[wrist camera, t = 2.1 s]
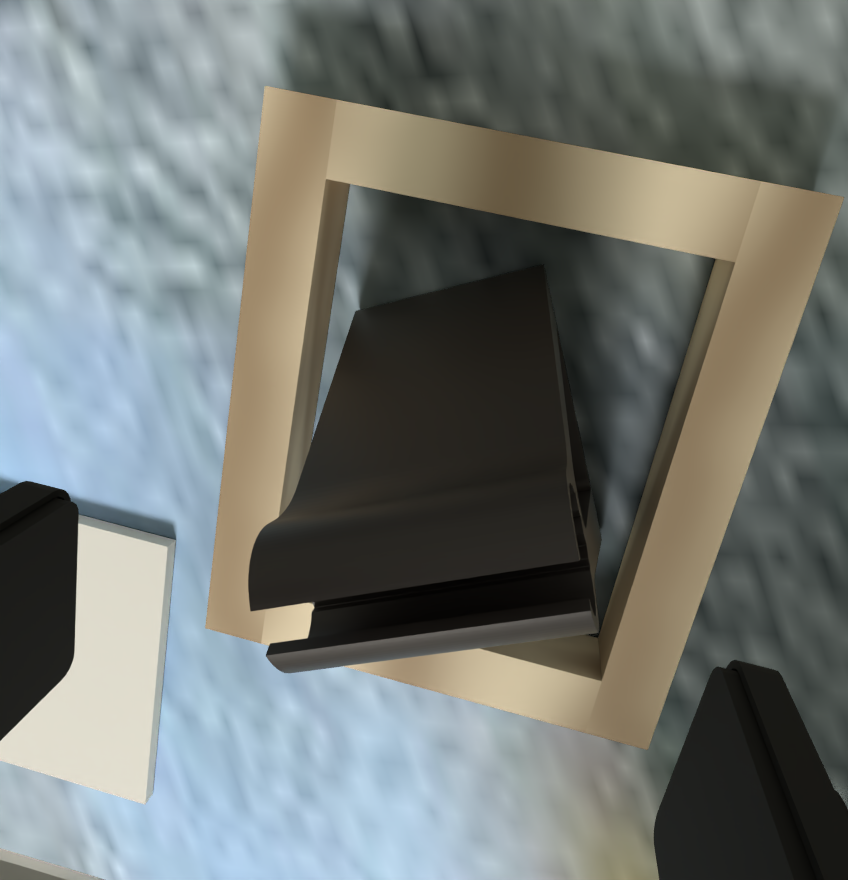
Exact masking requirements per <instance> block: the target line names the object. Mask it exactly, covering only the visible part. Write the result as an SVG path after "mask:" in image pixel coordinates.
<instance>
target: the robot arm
mask: <svg viewBox="0 0 848 880" xmlns="http://www.w3.org/2000/svg"><path fill="white" fill-rule="evenodd" d="M78 520H79V513H78V507H77V505H76V504H75V503H73V502H71V501H70V497H69V494H68V493H67V492H66V491H65V490H62V489H58V488H54V487H50V486H46V485H42V484H38V483H34V482H30V481H25V482H22V483H19V484H18V485H16V486H14V487H12V488H10V489H8V490H7V491H5V492H3V493H1V494H0V741H1V740H2V739H3V738H4V737H5V736H6V735H7V734H8V733H9V732H10V731H11V730H12V729H13V728H14V727H15V726H16V725H17V724H18V723H19V722H20V721H21V720H22V719H23V718H24V717H25V716H26V715H27V714H28V713H29V712H30V711H31V710H32V709H33V708H34V707H35V706H36V705H37V704H38V703H39V702H40V701H41V700H42V699H43V698H44V697H45V696H46V695H47V694H48V693H49V692H50V691H51V690H52V689H53V688H54V687H55V686H56V685H57V684H58V683H59V682H60V681H61V680H62V679H63V678H64V677H65V676H66V674H67V672H68V671H69V669H70V667H71V665H72V662H73V658H74V652H75V620H76V587H77V553H78ZM654 846H655V853H656V860H657V866H658V873H659V880H848V809H847V807H846V805H845V803H844V801H843V799H842V798H841V796H840V795H839V793H838V792H837V791H835V790H834V788H833V786H832V784H831V781H830V779H829V777H828V775H827V773H826V771H825V768H824V766H823V764H822V762H821V760H820V758H819V756H818V753H817V751H816V749H815V747H814V745H813V743H812V740H811V738H810V736H809V734H808V732H807V730H806V727H805V725H804V723H803V721H802V719H801V717H800V715H799V712H798V710H797V708H796V706H795V704H794V702H793V699H792V697H791V695H790V693H789V691H788V689H787V687H786V684H785V682H784V680H783V678H782V676H781V675H780V673H779V672H778V671H776V670H773V669H769V668H765V667H761V666H757V665H753V664H749V663H745V662H741V661H737V660H734V661H731V662H730V664H729V665H728V666H727V668H726V669H725V668H721V667H716V668H715V669H714V670H713V671H712V673H711V675H710V678H709V680H708V683H707V685H706V688H705V691H704V693H703V696H702V698H701V701H700V704H699V706H698V709H697V711H696V714H695V717H694V719H693V722H692V724H691V727H690V730H689V732H688V735H687V737H686V740H685V743H684V745H683V748H682V750H681V753H680V756H679V758H678V761H677V763H676V766H675V769H674V771H673V774H672V776H671V779H670V782H669V784H668V787H667V789H666V792H665V795H664V797H663V800H662V802H661V805H660V808H659V810H658V813H657V816H656V820H655V826H654ZM0 880H104V879H101V878H98V877H94V876H91V875H88V874H85V873H81V872H78V871H75V870H71V869H68V868H65V867H61V866H58V865H55V864H51V863H48V862H44V861H41V860H38V859H34V858H31V857H28V856H24V855H21V854H18V853H14V852H11V851H7V850H4V849H1V848H0Z"/></svg>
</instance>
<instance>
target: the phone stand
mask: <svg viewBox="0 0 848 880" xmlns="http://www.w3.org/2000/svg"><path fill="white" fill-rule="evenodd" d="M601 541H602V539H601V533H600V527H599V523H598V518H597V513H596V508H595V504H594V499H593V494H592V489H591V485H590V480H589V475H588V470H587V466H586V461H585V456H584V451H583V447H582V442H581V437H580V433H579V428H578V423H577V418H576V414H575V410H574V405H573V399H572V395H571V390H570V385H569V380H568V376H567V371H566V366H565V361H564V357H563V352H562V347H561V342H560V338H559V333H558V328H557V323H556V319H555V314H554V309H553V304H552V300H551V295H550V290H549V286H548V281H547V276H546V271H545V267H544V264H543V265H539V266H535V267H530V268H526V269H522V270H518V271H514V272H510V273H506V274H502V275H498V276H494V277H490V278H486V279H482V280H478V281H474V282H470V283H466V284H462V285H458V286H454V287H450V288H446V289H442V290H438V291H434V292H430V293H426V294H422V295H418V296H414V297H410V298H406V299H402V300H398V301H394V302H390V303H386V304H382V305H378V306H374V307H370V308H366V309H362V310H358V311H356V312H355V314H354V317H353V320H352V323H351V326H350V329H349V332H348V335H347V338H346V341H345V344H344V347H343V350H342V353H341V356H340V359H339V362H338V365H337V368H336V371H335V374H334V377H333V380H332V383H331V386H330V389H329V392H328V395H327V398H326V401H325V404H324V407H323V410H322V413H321V416H320V419H319V422H318V425H317V428H316V431H315V434H314V437H313V440H312V443H311V446H310V449H309V452H308V455H307V458H306V461H305V464H304V467H303V470H302V473H301V476H300V479H299V482H298V485H297V488H296V491H295V493H294V496H293V498H292V500H291V502H290V504H289V505H288V507H287V508H286V510H285V511H284V512H283V513H282V514H281V515H280V516H279V517H278V518H277V519H275V520H274V521H272V522H270V523H268V524H267V525H265V526H264V527H263V528H262V530H261V531H260V533H259V534H258V536H257V538H256V540H255V543H254V546H253V549H252V553H251V558H250V564H249V574H248V593H249V604H250V611H258V610H264V609H271V608H277V607H283V606H290V605H296V604H303V603H309V602H312V603H313V606H314V609H313V611H312V614H311V625H310V630H309V635H308V638H305V639H298V640H291V641H284V642H277V643H270V645H269V648H268V651H267V654H266V657H267V658H268V660H269V661H270V662H271V663H272V664H273V665H274V666H275V667H276V668H277V669H278V670H280V671H282V672H284V673H295V672H303V671H311V670H318V669H326V668H334V667H341V666H349V665H356V664H364V663H372V662H379V661H387V660H395V659H402V658H410V657H418V656H425V655H433V654H440V653H448V652H456V651H463V650H471V649H479V648H486V647H494V646H501V645H509V644H517V643H524V642H532V641H540V640H547V639H555V638H562V637H570V636H578V635H585V634H593V633H599V619H598V611H597V602H596V593H595V571H596V566H597V561H598V556H599V551H600V546H601Z"/></svg>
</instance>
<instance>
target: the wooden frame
mask: <svg viewBox="0 0 848 880" xmlns="http://www.w3.org/2000/svg"><path fill="white" fill-rule="evenodd" d="M350 184H353V185H358V186H363V187H368V188H373V189H378V190H383V191H388V192H393V193H398V194H402V195H407V196H412V197H417V198H422V199H427V200H432V201H437V202H442V203H446V204H451V205H456V206H461V207H466V208H471V209H476V210H481V211H486V212H491V213H495V214H500V215H505V216H510V217H515V218H520V219H525V220H530V221H535V222H540V223H544V224H549V225H554V226H559V227H564V228H569V229H574V230H579V231H584V232H589V233H593V234H598V235H603V236H608V237H613V238H618V239H623V240H628V241H633V242H637V243H642V244H647V245H652V246H657V247H662V248H667V249H672V250H677V251H682V252H686V253H691V254H696V255H701V256H706V257H711V258H716V260H715V263H714V266H713V269H712V272H711V276H710V279H709V282H708V285H707V289H706V292H705V295H704V298H703V301H702V305H701V308H700V311H699V314H698V318H697V321H696V324H695V327H694V330H693V334H692V337H691V340H690V343H689V347H688V350H687V353H686V356H685V359H684V363H683V366H682V369H681V372H680V376H679V379H678V382H677V385H676V388H675V392H674V395H673V398H672V401H671V405H670V408H669V411H668V414H667V417H666V421H665V424H664V427H663V430H662V434H661V437H660V440H659V443H658V446H657V450H656V453H655V456H654V459H653V463H652V466H651V469H650V472H649V475H648V479H647V482H646V485H645V488H644V492H643V495H642V498H641V501H640V504H639V508H638V511H637V514H636V517H635V521H634V524H633V527H632V530H631V533H630V537H629V540H628V543H627V546H626V550H625V553H624V556H623V559H622V562H621V566H620V569H619V572H618V575H617V579H616V582H615V585H614V588H613V591H612V595H611V598H610V601H609V604H608V608H607V611H606V614H605V617H604V620H603V624H602V627H601V630H600V633H599V637H598V638H596V637H592V636H588V635H578V636H570V637H562V638H555V639H547V640H540V641H532V642H524V643H517V644H509V645H501V646H494V647H486V648H479V649H471V650H463V651H456V652H448V653H440V654H433V655H425V656H418V657H410V658H402V659H395V660H387V661H379V662H372V663H364V664H356V665H349V666H345V667H348V668H352V669H355V670H359V671H363V672H366V673H370V674H374V675H377V676H381V677H384V678H388V679H392V680H395V681H399V682H403V683H406V684H410V685H413V686H417V687H421V688H424V689H428V690H432V691H435V692H439V693H442V694H446V695H450V696H453V697H457V698H461V699H464V700H468V701H472V702H475V703H479V704H482V705H486V706H490V707H493V708H497V709H501V710H504V711H508V712H511V713H515V714H519V715H522V716H526V717H530V718H533V719H537V720H540V721H544V722H548V723H551V724H555V725H559V726H562V727H566V728H569V729H573V730H577V731H580V732H584V733H588V734H591V735H595V736H599V737H602V738H606V739H609V740H613V741H617V742H620V743H624V744H628V745H631V746H635V747H638V748H642V749H646V750H648V748H649V745H650V742H651V739H652V736H653V734H654V731H655V728H656V725H657V722H658V720H659V717H660V714H661V711H662V708H663V705H664V703H665V700H666V697H667V694H668V691H669V689H670V686H671V683H672V680H673V677H674V675H675V672H676V669H677V666H678V663H679V661H680V658H681V655H682V652H683V649H684V646H685V644H686V641H687V638H688V635H689V632H690V630H691V627H692V624H693V621H694V618H695V616H696V613H697V610H698V607H699V604H700V601H701V599H702V596H703V593H704V590H705V587H706V585H707V582H708V579H709V576H710V573H711V571H712V568H713V565H714V562H715V559H716V557H717V554H718V551H719V548H720V545H721V542H722V540H723V537H724V534H725V531H726V528H727V526H728V523H729V520H730V517H731V514H732V512H733V509H734V506H735V503H736V500H737V498H738V495H739V492H740V489H741V486H742V483H743V481H744V478H745V475H746V472H747V469H748V467H749V464H750V461H751V458H752V455H753V453H754V450H755V447H756V444H757V441H758V439H759V436H760V433H761V430H762V427H763V424H764V422H765V419H766V416H767V413H768V410H769V408H770V405H771V402H772V399H773V396H774V394H775V391H776V388H777V385H778V382H779V380H780V377H781V374H782V371H783V368H784V365H785V363H786V360H787V357H788V354H789V351H790V349H791V346H792V343H793V340H794V337H795V335H796V332H797V329H798V326H799V323H800V320H801V318H802V315H803V312H804V309H805V306H806V304H807V301H808V298H809V295H810V292H811V290H812V287H813V284H814V281H815V278H816V276H817V273H818V270H819V267H820V264H821V261H822V259H823V256H824V253H825V250H826V247H827V245H828V242H829V239H830V236H831V233H832V231H833V228H834V225H835V222H836V219H837V217H838V214H839V211H840V208H841V205H842V202H843V200H844V197H840V196H835V195H830V194H825V193H820V192H814V191H809V190H804V189H799V188H794V187H788V186H783V185H778V184H773V183H768V182H762V181H757V180H752V179H747V178H742V177H736V176H731V175H726V174H721V173H716V172H710V171H705V170H700V169H695V168H690V167H684V166H679V165H674V164H669V163H664V162H658V161H653V160H648V159H643V158H638V157H632V156H627V155H622V154H617V153H612V152H606V151H601V150H596V149H591V148H585V147H580V146H575V145H570V144H565V143H559V142H554V141H549V140H544V139H539V138H533V137H528V136H523V135H518V134H513V133H507V132H502V131H497V130H492V129H487V128H481V127H476V126H471V125H466V124H461V123H455V122H450V121H445V120H440V119H435V118H429V117H424V116H419V115H414V114H409V113H403V112H398V111H393V110H388V109H383V108H377V107H372V106H367V105H362V104H357V103H351V102H346V101H341V100H336V99H331V98H325V97H320V96H315V95H310V94H305V93H299V92H294V91H289V90H284V89H278V88H273V87H268V86H265V90H264V99H263V108H262V117H261V126H260V135H259V145H258V154H257V163H256V172H255V181H254V190H253V199H252V208H251V217H250V226H249V235H248V245H247V254H246V263H245V272H244V281H243V290H242V299H241V308H240V317H239V326H238V335H237V345H236V354H235V363H234V372H233V381H232V390H231V399H230V408H229V417H228V426H227V435H226V445H225V454H224V463H223V472H222V481H221V490H220V499H219V508H218V517H217V526H216V536H215V545H214V554H213V563H212V572H211V581H210V590H209V599H208V608H207V617H206V626H205V628H207V629H210V630H214V631H218V632H221V633H225V634H228V635H232V636H236V637H239V638H243V639H247V640H250V641H254V642H257V643H261V644H265V645H268V646H269V645H270V643H277V642H284V641H291V640H298V639H305V638H308V635H309V630H310V625H311V614H312V611H313V609H314V606H313V603H312V602H309V603H303V604H296V605H290V606H283V607H277V608H271V609H264V610H258V611H250V604H249V593H248V574H249V564H250V558H251V553H252V549H253V546H254V543H255V540H256V538H257V536H258V534H259V533H260V531H261V530H262V528H263V527H264V526H265V525H267V524H268V523H270V522H272V521H274V520H275V519H277V518H278V517H279V516H280V515H281V514H282V513H283V512H284V511H285V510H286V508H287V507H288V505H289V504H290V502H291V500H292V498H293V496H294V493H295V491H296V488H297V485H298V482H299V479H300V476H301V473H302V470H303V467H304V464H305V461H306V458H307V455H308V452H309V449H310V446H311V441H312V434H313V427H314V421H315V414H316V407H317V401H318V394H319V387H320V381H321V374H322V367H323V360H324V354H325V347H326V340H327V334H328V327H329V320H330V314H331V307H332V300H333V294H334V287H335V280H336V274H337V267H338V260H339V254H340V247H341V240H342V233H343V227H344V220H345V213H346V207H347V200H348V193H349V187H350Z"/></svg>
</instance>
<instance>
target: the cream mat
mask: <svg viewBox="0 0 848 880" xmlns="http://www.w3.org/2000/svg"><path fill="white" fill-rule="evenodd" d="M175 543H176V540H174V539H170V538H166V537H162V536H159V535H155V534H151V533H147V532H143V531H140V530H136V529H132V528H128V527H124V526H121V525H117V524H113V523H109V522H106V521H102V520H98V519H94V518H90V517H87V516H83V515H79V520H78V553H77V587H76V620H75V652H74V658H73V662H72V665H71V667H70V669H69V671H68V672H67V674H66V676H65V677H64V678H63V679H62V680H61V681H60V682H59V683H58V684H57V685H56V686H55V687H54V688H53V689H52V690H51V691H50V692H49V693H48V694H47V695H46V696H45V697H44V698H43V699H42V700H41V701H40V702H39V703H38V704H37V705H36V706H35V707H34V708H33V709H32V710H31V711H30V712H29V713H28V714H27V715H26V716H25V717H24V718H23V719H22V720H21V721H20V722H19V723H18V724H17V725H16V726H15V727H14V728H13V729H12V730H11V731H10V732H9V733H8V734H7V735H6V736H5V737H4V738H3V739H2V740H1V741H0V760H1V761H4V762H7V763H11V764H14V765H17V766H20V767H24V768H27V769H30V770H34V771H37V772H40V773H43V774H47V775H50V776H53V777H57V778H60V779H63V780H66V781H70V782H73V783H76V784H79V785H83V786H86V787H89V788H93V789H96V790H99V791H102V792H106V793H109V794H112V795H116V796H119V797H122V798H125V799H129V800H132V801H135V802H139V803H142V804H146V803H147V801H148V800H149V798H150V797H151V796H152V794H153V785H154V774H155V763H156V752H157V741H158V730H159V719H160V708H161V697H162V686H163V675H164V664H165V653H166V642H167V631H168V620H169V609H170V598H171V587H172V576H173V565H174V554H175Z"/></svg>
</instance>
